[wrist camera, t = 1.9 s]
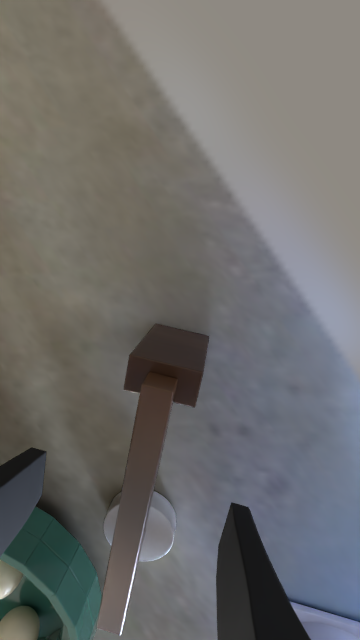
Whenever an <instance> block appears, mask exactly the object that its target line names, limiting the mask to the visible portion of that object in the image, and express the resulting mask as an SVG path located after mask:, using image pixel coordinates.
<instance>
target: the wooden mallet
mask: <svg viewBox="0 0 360 640" xmlns="http://www.w3.org/2000/svg"><path fill="white" fill-rule="evenodd" d="M208 342H209V336H206V335H202V334H198V333H193V332H189V331H185V330H181V329H176V328H172V327H168V326H164V325H159V324H155V325H154V327H153V328H152V329H151V330H150V331H149V332H148V334H147V335H146V336H145V337H144V338H143V339H142V341H141V342H140V343H139V344H138V345H137V346H136V348H135V349H134V350H133V351H132V352H131V354H130V355H129V360H128V366H127V372H126V378H125V384H124V390H126V391H130V392H134V393H138V394H140V396H139V401H138V407H137V412H136V417H135V423H134V428H133V433H132V439H131V444H130V449H129V455H128V460H127V466H126V471H125V476H124V482H123V487H122V492H120V493H119V494H117V495H116V496H115V497H114V499H113V500H112V502H111V505H110V507H109V509H108V512H107V514H106V516H105V519H104V524H103V528H104V534H105V537H106V539H107V541H108V542H109V544H110V545H111V551H110V557H109V562H108V567H107V573H106V578H105V583H104V589H103V594H102V599H101V605H100V610H99V615H98V621H97V628H98V629H101V630H104V631H107V632H111V633H114V634H117V635H121V633H122V630H123V626H124V622H125V618H126V614H127V611H128V607H129V602H130V597H131V593H132V588H133V584H134V579H135V575H136V570H137V565H138V562H139V561H152V560H156V559H158V558H160V557H162V556H164V555H165V554H166V553H167V552H168V551H169V550H170V548H171V546H172V544H173V539H174V534H175V528H176V514H175V511H174V509H173V507H172V505H171V504H170V503H169V501H168V500H167V499H166V498H165V497H163V496H162V495H161V494H159V493H157V492H155V491H154V488H155V483H156V478H157V474H158V469H159V465H160V460H161V456H162V451H163V446H164V442H165V437H166V433H167V428H168V423H169V419H170V414H171V410H172V405H173V403H177V404H181V405H185V406H189V407H193V408H195V406H196V402H197V398H198V393H199V389H200V385H201V381H202V377H203V372H204V366H205V360H206V354H207V348H208Z"/></svg>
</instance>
